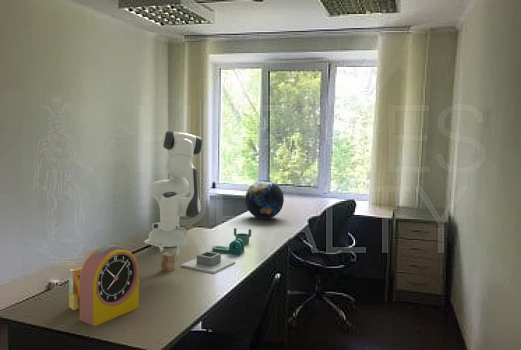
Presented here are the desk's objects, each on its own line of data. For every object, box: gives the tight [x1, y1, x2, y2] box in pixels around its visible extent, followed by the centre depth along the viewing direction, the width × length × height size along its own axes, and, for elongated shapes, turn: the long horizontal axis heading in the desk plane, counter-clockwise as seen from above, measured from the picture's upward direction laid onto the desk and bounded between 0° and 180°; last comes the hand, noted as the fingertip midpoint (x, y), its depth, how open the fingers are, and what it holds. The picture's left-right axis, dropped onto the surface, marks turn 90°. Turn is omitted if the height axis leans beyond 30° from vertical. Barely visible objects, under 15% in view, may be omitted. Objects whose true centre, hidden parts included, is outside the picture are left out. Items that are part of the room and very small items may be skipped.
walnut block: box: [160, 252, 175, 273], centre depth 228 cm, size 4×4×8 cm
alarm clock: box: [79, 244, 140, 327], centre depth 174 cm, size 21×9×26 cm, turn 148°
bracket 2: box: [233, 227, 252, 246], centre depth 283 cm, size 9×9×9 cm
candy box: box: [68, 266, 83, 311], centre depth 180 cm, size 9×4×15 cm, turn 137°
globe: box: [244, 179, 285, 220], centre depth 356 cm, size 30×30×30 cm
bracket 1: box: [211, 238, 245, 256], centre depth 263 cm, size 18×7×8 cm, turn 73°
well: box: [180, 250, 236, 275], centre depth 238 cm, size 20×20×6 cm
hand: (169, 253), depth 227 cm, fingers open, 8 cm apart
